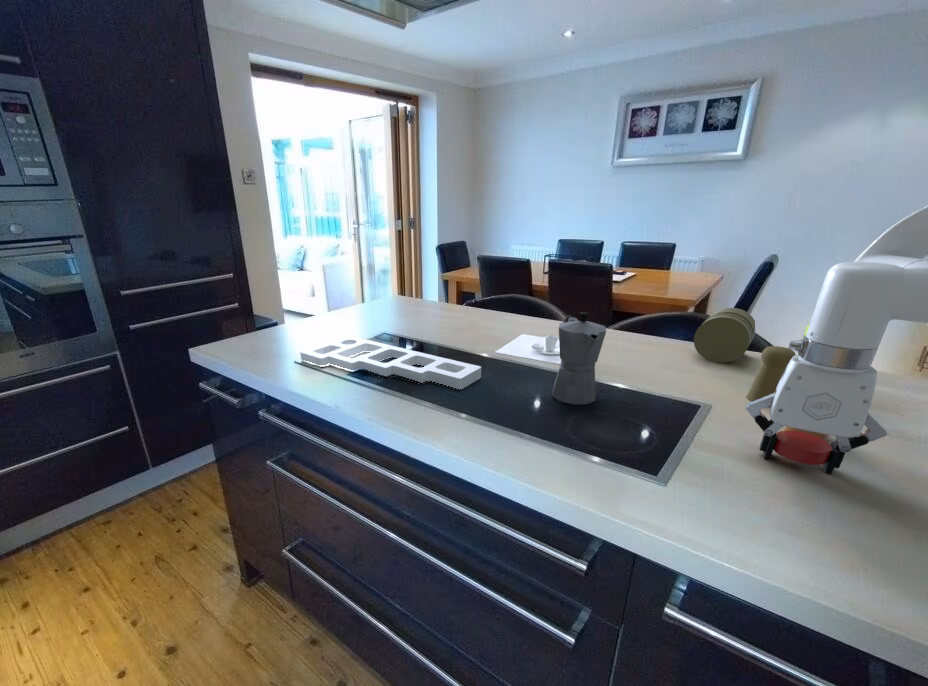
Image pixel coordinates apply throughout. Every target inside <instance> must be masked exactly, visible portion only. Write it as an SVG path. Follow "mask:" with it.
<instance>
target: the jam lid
mask: <svg viewBox="0 0 928 686" xmlns="http://www.w3.org/2000/svg"><path fill="white" fill-rule="evenodd" d="M776 437H777V440H776V443H775V446H774V449H773V451H774V452H775V453H776V454H777V455H779V456H781V457H783V458H785V459H786V460H787V459H788V460H790V461H792V462H795V463H799V464H805V465H810V466H821V465H822V466H823V464H825V463H827V461H828V459H829V456H830V454H831V452H832V446H831V445H830V444H831V443H829V442H828V441H825V440H823V439H821V438H819V437H816V436H813V435H810V434H807V433H803V432H798V431H785V430H779V431H777V432H776Z"/></svg>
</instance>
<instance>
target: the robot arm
mask: <svg viewBox="0 0 928 686" xmlns="http://www.w3.org/2000/svg"><path fill="white" fill-rule="evenodd" d="M927 256H928V205H926V206H924V207H922V208H920V209H918V210H916V211H914V212H913V213H911V214H909V215H907V216H905V217H904V218H902V219H901V220H899V221H897V222H896V223H894V224H893V225H892V226H890V227H889V228H888V229H886V230H885V231H884V232H883V233H882V234H881V235H879V236H878V237H877V238H876V239H875V240H874V241H873V242H872V243H871V244H870V245H869V246H868V247H867V248H865V250H863V252H862V253H860V254H859V255H858V256H857V258H855V260H854V261H844V262H839V263H836V264H834V265H832V266H831V267H830V268H829V269H828V271H827V273H826V274H825V277H824V280H823V284H822V286H821V289H820V292H819V295H818V297H817V301H816V305H815V306H814V310H813V312H812V315H811V319H810V322H809V327H808V330H807V333H806V336H804V335H803V338H804V339H803V338H801V339H800V340H799V339H798V340H792V339H791V340H790V342H789V344H788V347H787V348H788V349H791V350H793V351H794V352H797V354H796V355H795V356H793V358H792V359H791V360H790V362H789V364H788V365H787V367H786V369H785V371H784V373H783V375H782V377H781V379H780V381H779V383H778V386H777V388H776V390H775V393H773V394H770V395H768V396H765V397H763V398H760V399H758V400H755V401H749V402H748V403H746V411H747V412H748V413H749V415H750V416H751V417H752V419H753V420H754V423H756V424H757V425H758V427H759V428H760V430H761V431H762V432H763V436H762V438H761V441H760V444H759V451H760V452H763V459H764V460H771V458H772V454H773V451H774V450H773V449H774V446H775V443H776V440H777V437H776V433H777V432H780V431H781V430H782V428H785V426H787V427H792V428H797V429H801V430H806V431H811V432H816V433H821V434H826V435H830V436H831V437H835V440H834V441H832V443H829V444H830V445H831V446H832V452H831V454H830V456H829V459H828V461H827V463H825V464H822V468H823V472H824V473H825V474H827V475H832V474H833V472H834V470H835V469H840V467H841V465H842V462H843V460H844V458H845V455H846V453H850V452H851V451H852V450H853V449H854V450H855V449H856V448H859V447H862V446H866V445H868V444H869V443H870V442H874V441H877V440H879V439H882V438H884V437H886V436H887V435H888V433H887V431H886V429H885V427H883V425H882V424H880V422H878V420H877V419H876V418H875V417H874V416H873V415H872V414H871V413H869V412H870V408H871V405H872V401H873V398H874V395H875V389H876V385H877V380H878V379H877V377H878V370H877V369H876V368H874V367H873V366H872V364H873V362H874V360H875V357H876V355H877V352H878V349H879V347H880V345H881V342H882V339H883V337H884V335H885V332H886V330H887V327H888V324H889V322H891V321H894V320H897V321H905V322H914V323H923V324H928V259H925V257H927ZM798 353H799V355H798ZM768 407H769V410H770V411H769V416H770V418H769V419H768V418H767V416H766V415H765V414H764V413H763V412H762V409H765V408H766V409H767V408H768ZM864 426H865V427H866V428H867V429H866V430H863V428H864ZM862 430H863V431H862Z"/></svg>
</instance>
